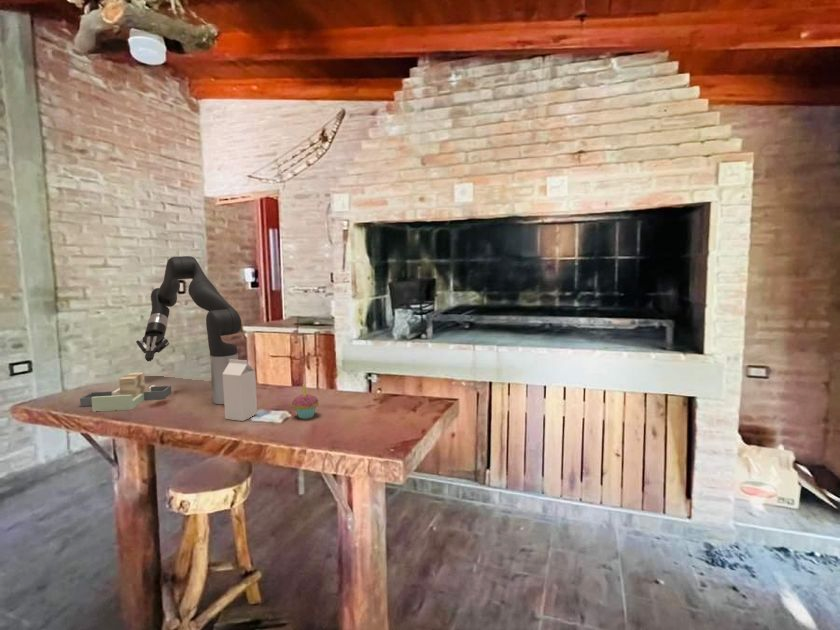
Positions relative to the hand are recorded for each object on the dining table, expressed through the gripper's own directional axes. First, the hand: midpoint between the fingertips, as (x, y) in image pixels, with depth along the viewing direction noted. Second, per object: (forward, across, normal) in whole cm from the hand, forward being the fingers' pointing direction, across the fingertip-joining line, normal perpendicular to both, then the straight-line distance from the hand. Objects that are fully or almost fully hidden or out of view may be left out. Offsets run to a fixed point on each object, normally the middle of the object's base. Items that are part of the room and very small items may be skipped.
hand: (148, 360), depth 204 cm
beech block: (+19, 0, -4) cm, 20 cm away
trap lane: (+23, 0, -8) cm, 25 cm away
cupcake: (+46, +66, -30) cm, 86 cm away
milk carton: (+44, +45, -28) cm, 69 cm away
